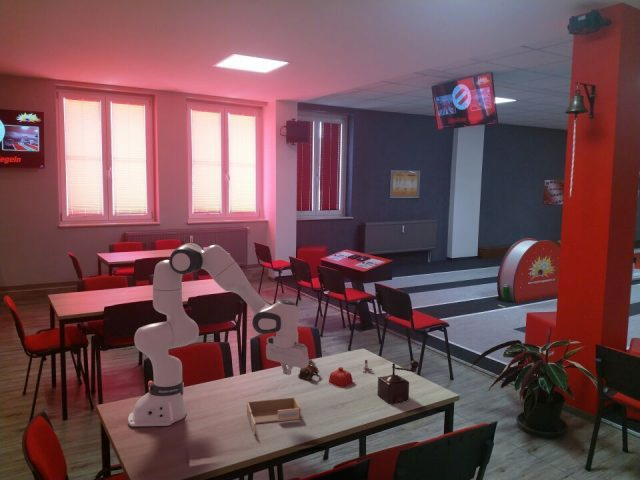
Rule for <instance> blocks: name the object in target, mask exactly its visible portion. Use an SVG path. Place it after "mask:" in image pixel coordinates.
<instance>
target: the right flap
mask: <svg viewBox="0 0 640 480" xmlns="http://www.w3.org/2000/svg"><path fill="white" fill-rule="evenodd" d="M301 411H302V409H301V407H300V408H296V409H286V410H278V422H285V421H284V420H288V421H294V419H297V420H300V419H301V417H302V416H301V415H302V414H301V413H302V412H301Z"/></svg>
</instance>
